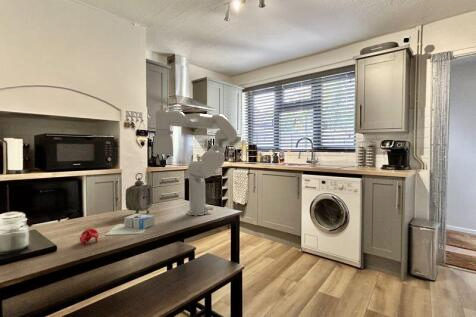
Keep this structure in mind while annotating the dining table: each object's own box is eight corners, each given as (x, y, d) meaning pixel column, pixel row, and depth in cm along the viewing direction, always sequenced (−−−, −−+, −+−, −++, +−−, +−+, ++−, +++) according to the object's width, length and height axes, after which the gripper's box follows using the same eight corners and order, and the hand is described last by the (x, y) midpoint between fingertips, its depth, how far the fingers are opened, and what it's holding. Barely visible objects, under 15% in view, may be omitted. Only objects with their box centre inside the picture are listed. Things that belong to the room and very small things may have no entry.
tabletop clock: (139, 218, 143) (138, 174, 142) (124, 218, 144) (123, 174, 143) (152, 212, 157) (151, 171, 156) (138, 211, 159) (138, 171, 158)
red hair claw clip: (102, 235, 106) (100, 225, 110) (87, 234, 102) (85, 223, 106) (93, 249, 108) (91, 238, 112) (77, 248, 103) (76, 237, 107)
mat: (149, 223, 133) (149, 223, 133) (142, 233, 117) (142, 233, 117) (117, 225, 131) (117, 224, 131) (105, 235, 115) (105, 234, 115)
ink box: (143, 219, 122) (123, 217, 126) (143, 229, 122) (123, 227, 126) (154, 214, 130) (135, 213, 134) (154, 224, 130) (136, 222, 134)
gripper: (177, 133, 143) (177, 166, 144) (149, 133, 141) (150, 166, 142) (176, 133, 136) (176, 167, 136) (147, 132, 133) (147, 167, 134)
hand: (163, 167), depth 139 cm, fingers closed
